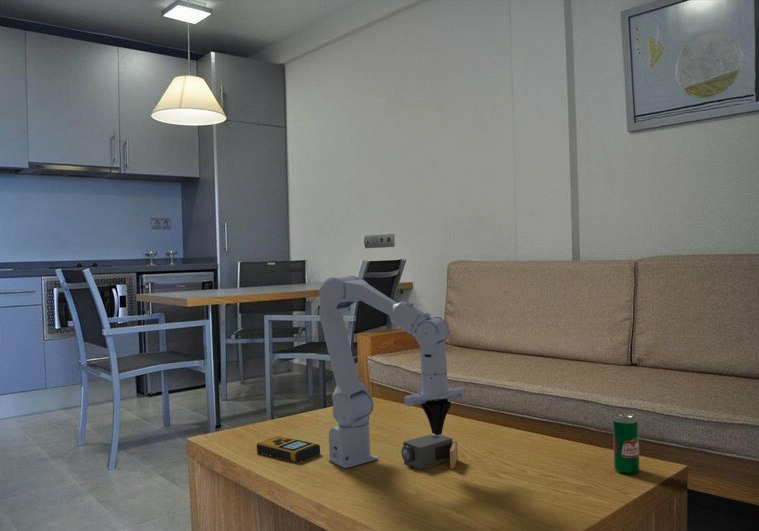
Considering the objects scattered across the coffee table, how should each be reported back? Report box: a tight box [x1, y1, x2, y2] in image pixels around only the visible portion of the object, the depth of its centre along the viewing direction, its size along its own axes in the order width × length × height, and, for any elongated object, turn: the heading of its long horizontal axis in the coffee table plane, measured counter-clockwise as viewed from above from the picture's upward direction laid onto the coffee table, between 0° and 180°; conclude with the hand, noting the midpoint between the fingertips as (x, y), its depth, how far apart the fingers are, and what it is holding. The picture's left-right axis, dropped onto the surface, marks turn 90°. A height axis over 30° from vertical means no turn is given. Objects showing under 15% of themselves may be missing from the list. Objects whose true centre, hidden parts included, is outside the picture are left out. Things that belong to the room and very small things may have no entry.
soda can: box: [612, 412, 641, 475], centre depth 133 cm, size 5×5×12 cm
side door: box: [449, 440, 459, 470], centre depth 142 cm, size 7×1×4 cm, turn 166°
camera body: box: [400, 432, 454, 471], centre depth 144 cm, size 11×6×6 cm, turn 126°
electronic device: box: [256, 435, 321, 463], centre depth 155 cm, size 8×16×3 cm, turn 51°
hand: (436, 433), depth 137 cm, fingers closed
